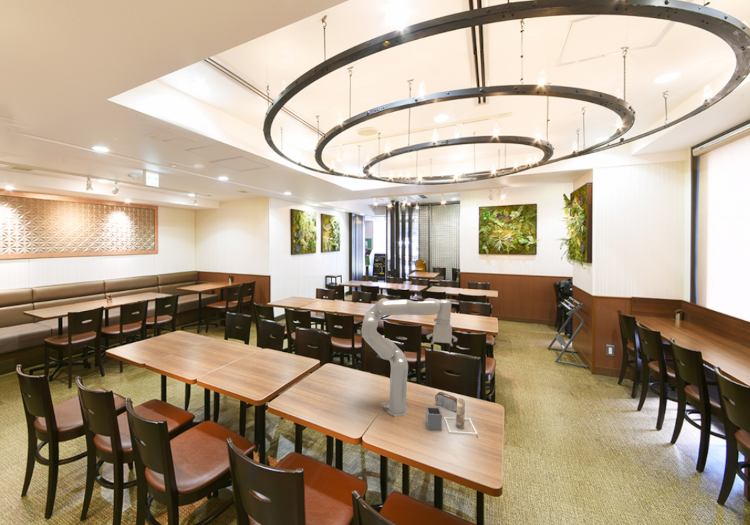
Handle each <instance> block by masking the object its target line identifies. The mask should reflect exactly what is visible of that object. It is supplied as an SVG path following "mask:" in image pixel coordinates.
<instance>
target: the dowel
mask: <svg viewBox="0 0 750 525" xmlns="http://www.w3.org/2000/svg"><path fill="white" fill-rule="evenodd" d="M465 412H466V400H465V399H464V398H457V412H455V413H456V414H455V415H456V417H455V418H456V420H455V427H456V428H457V429H459V430H464V428H465V420H464V418H465Z"/></svg>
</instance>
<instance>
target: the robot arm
mask: <svg viewBox="0 0 750 525" xmlns="http://www.w3.org/2000/svg"><path fill="white" fill-rule="evenodd" d="M451 312H452V301H451V300H449V299H444V298H443V299H436V298H431V297H428V298H425V299H424V300H423V301H414V300H411V299H404V298H403V299H388V298H386V297H384V298H383V297H382V298H381V299H379V300H378V301H377V302H376V303H375V304H373V306H372V307H371V308H370V309H369V310H368V311H367V312H366V313H365V315H364V317H363V322H362V324H361V325H362V326H361V331H360V332H361V336H362V338H363V339H364V341H365V342H366V343H367V344H368V345H369V347H370V348H372V350H373V351H375V353H376V354H377V355H378V356H379V357H380V358H382V360H385V361H389V363H390V377H389V399H388V401H386V402H385V401H381V402H380V403H381V404H380V405H381V407H383V408H386V412H387V413H388V414H389V415H390V416H393V417H395V416H404V415H406V414H408V413H409V411H410V410H409V407H408V406H407V390H408V389H407V388H408V372H409V363H408V360H407V358H406V354H405V353H404V352H403V351H402V349H400V348H399V347H398V346H397V344H395V342H393V341H392V340H391V339H390V338H387V337H384V336H383V335H382V334H380V333H379V332H378V330H377V329H378V326H379V322H380V320H381V319H382V318H383V317H384V316H402V315H405V316H406V315H409V316H432V315H433V316H434V315H436V317H435V318H433V322H435V323H434V325H433V332H431V333H429V334H427V335H426V338H427V341H428V342H429V343H430V350H431V352H434V346H435V345H434V344H435V343H442V344H449V345H448V353H449V354H451V352H453V346H454V345H455V344H457V341H458V337H456V336H455V335H453V331H452V329H453V327H452V324H451V315H452V313H451ZM431 337H432V339H430V338H431ZM452 339H453V341H452Z"/></svg>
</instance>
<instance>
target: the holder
mask: <svg viewBox="0 0 750 525" xmlns="http://www.w3.org/2000/svg"><path fill="white" fill-rule="evenodd" d="M442 423H443V413H442V411H441V408H440V407H437V406H435V407H434V406H425V425H426V430H427V431H440V432H442V425H443V424H442Z"/></svg>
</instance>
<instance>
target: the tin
mask: <svg viewBox="0 0 750 525" xmlns="http://www.w3.org/2000/svg"><path fill="white" fill-rule="evenodd" d="M457 399H458V398H457V397H455V396H454V395H451V394H449V393H445V392H443V391H439V392H437V394H436V395H435V397H434V401H435V403H436V405H437V406H439V407H443V408H445V409H447V410H451V411H452V412H454V413H457Z"/></svg>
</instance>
